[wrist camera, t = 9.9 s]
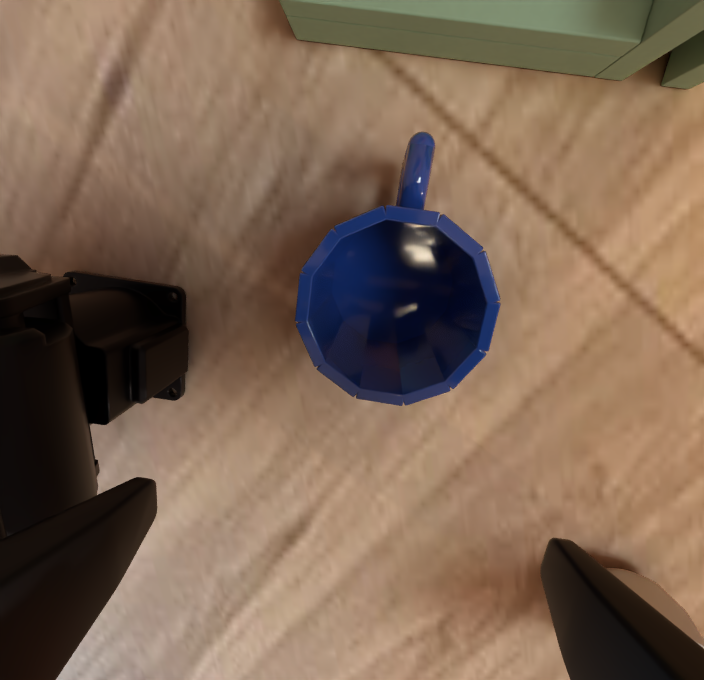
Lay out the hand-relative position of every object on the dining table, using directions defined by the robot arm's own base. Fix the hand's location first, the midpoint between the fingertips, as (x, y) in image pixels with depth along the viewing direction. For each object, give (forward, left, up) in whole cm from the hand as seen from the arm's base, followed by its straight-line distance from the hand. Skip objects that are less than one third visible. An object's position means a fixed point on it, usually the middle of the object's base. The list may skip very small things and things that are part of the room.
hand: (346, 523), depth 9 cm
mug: (+1, +5, -13) cm, 14 cm away
